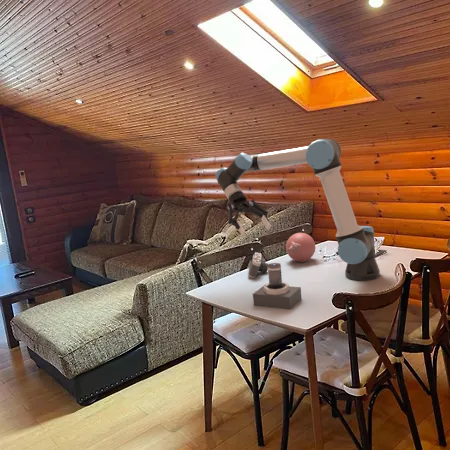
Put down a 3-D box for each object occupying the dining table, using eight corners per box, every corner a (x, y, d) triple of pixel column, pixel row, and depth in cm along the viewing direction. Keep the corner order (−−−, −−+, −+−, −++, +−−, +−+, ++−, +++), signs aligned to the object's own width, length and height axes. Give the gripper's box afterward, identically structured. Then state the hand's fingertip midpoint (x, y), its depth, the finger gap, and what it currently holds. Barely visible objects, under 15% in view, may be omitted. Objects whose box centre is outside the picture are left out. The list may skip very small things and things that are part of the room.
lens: (285, 288, 183) (282, 262, 181) (280, 293, 178) (277, 266, 176) (272, 288, 185) (270, 262, 183) (267, 292, 181) (265, 266, 179)
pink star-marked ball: (276, 265, 235) (274, 237, 232) (297, 256, 249) (294, 229, 247) (302, 268, 225) (299, 239, 222) (321, 258, 239) (319, 230, 237)
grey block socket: (301, 298, 184) (300, 282, 182) (290, 309, 174) (288, 292, 172) (266, 295, 192) (265, 279, 191) (253, 305, 182) (252, 289, 181)
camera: (246, 276, 217) (253, 257, 215) (247, 266, 233) (254, 248, 230) (264, 282, 217) (271, 263, 215) (264, 272, 233) (271, 254, 230)
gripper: (255, 197, 215) (276, 230, 205) (209, 205, 203) (230, 241, 193) (260, 186, 209) (282, 220, 199) (213, 194, 198) (235, 231, 187)
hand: (256, 231), depth 196 cm, fingers open, 13 cm apart
